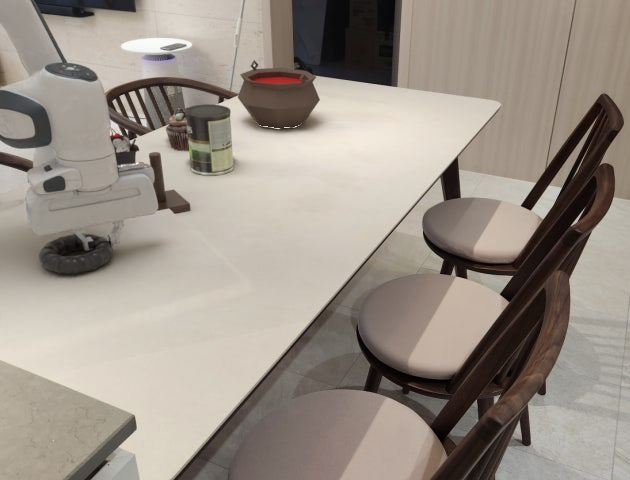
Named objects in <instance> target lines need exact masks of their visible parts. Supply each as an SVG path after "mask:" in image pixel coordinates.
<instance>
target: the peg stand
mask: <svg viewBox="0 0 630 480" xmlns="http://www.w3.org/2000/svg"><path fill="white" fill-rule="evenodd" d="M161 156H162V155H161V152H158V151H154V152H153V151H152V152H149V153H148V159H149V165H150V166H151V167H152V168H153V170H154V177H155V179H154V183H153V187H154V190H155V193H156V197H157V202H158V209H157V211H156V212H159V211H164V210H170V211H171V212H172V213H173V214H179V213H184V212H188V211H191V204H190V202H189V201H188V200H186V199H185V198H184V197H183V196H182V195H181V194H180V193H179V192H177V190H175V189H169V190H166V186H165V179H164V171H163V164H162V157H161Z"/></svg>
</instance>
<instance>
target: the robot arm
mask: <svg viewBox="0 0 630 480" xmlns="http://www.w3.org/2000/svg"><path fill="white" fill-rule="evenodd" d="M0 25H1V27H3V29H4V31H5V33H6V34H7V36H8V37H9V40H10V41H11V43H12V45H13V47H14V49H15V50H16V53H17V54H18V56H19V57H20V59H21V61H22V63H23V64H24V66H25V68H26V71H27V74H28V77H27V78H25V79H22V80H18V81H15V82H13V83H9V84H6V85H3V86H1V87H0V142H2V143H3V144H4V145H6V146H8V147H11V148H14V149H19V150H20V149H21V150H24V149H35V148H39V147H44V146H49V147H52V148H53V150H54V153H55V158H54V159H52V160H49V161H47V162H45V163H43V164H41V165H39V166H36V167H34V168H33V167H32V168H30V169H28V170H27V171H26V177H27V181H28V183H29V185H30V186H29V188H28V189H27V191H26V193H25V207H26V208H25V209H26V216H27V222H28V225H29V229H30V230H31V231H32V233H34V234H35V235H37V236H38V237H43V236H49V235H53V234H58V233H63V232H68V231H73V234H76V235H77V236H78V237H79V238H80V239H81V240H82V243H83V247H84V249H85V250H84V251H85V252H86V251H87V252H88V251H91V250H92V249H95V246H94V241H93V239H92V238H91V237H85V236H84V235H83V234H85V228H89V227H95V226H100V225H105V224H110V223H112V224H113V227H112V229H111V232H107V233H106V236H107V240H108V242H109V243H110V244H111V246H115V245H119V244H120V243H121V242H120V234H121V232H122V230H123V228H124V226H125V224H124V221H126V220H130V219H136V218H140V217H146V216H151V215H155V214H156V212H158V211H157V209H158V202H157V197H156V193H155V190H154V187H153V183H154V179H155V177H154V170H153V168H152V167H151V166H150V163H145V162H144V161H136V163H132V164H121V165H117V162H116V155H115V149H114V145H113V143H112V141H111V139H110V136H111V130H110V129H111V128H110V127H111V125H112V123H111V122H112V121H111V116H110V110H109V104H108V100H107V96H106V92H105V89H104V87H103V83H102V81H101V79H100V77H99V76H98V74H97V72H96V71H94V70H93V69H91V68H89V67H87V66H85V65H82V64H79V63H72V62H68V61H67V59H66V58H65V56H64V54H63V52H62V51H61V48H60V46H59V44H58V42H57V40H56V39H55V37H54V35H53V33H52V31H51V29H50V27H49V25H48V23H47V22H46V19H45V18H44V15H43V14H42V12H41V10H40V8H39V6H38V4H37V3H36V1H35V0H0Z"/></svg>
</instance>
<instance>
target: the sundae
mask: <svg viewBox="0 0 630 480" xmlns="http://www.w3.org/2000/svg"><path fill="white" fill-rule="evenodd" d="M110 132H111V134H110V139H111V141H112V143H113V145H114V149H115V155H116V162H117V165H121V164H132V163H136V162H137V161H136V159H137V158H136V156H137V152H138V151H140V148H139V146H138V145H137V144H135V143H136V140H137V139H136V138H134V139H133V141H132V143H131V141H130V138H129V137H127V136H126V135H122V134H120V133H118V132H116V131H115V130H114V129H113V128H112V127H111V126H110Z"/></svg>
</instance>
